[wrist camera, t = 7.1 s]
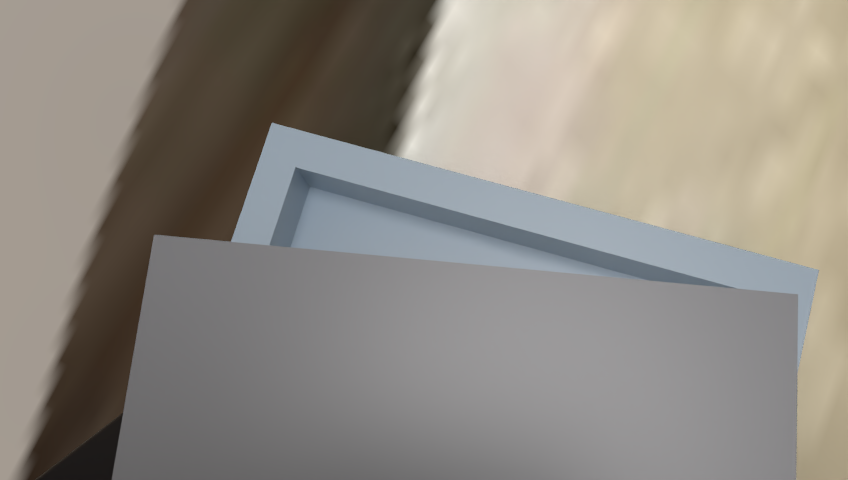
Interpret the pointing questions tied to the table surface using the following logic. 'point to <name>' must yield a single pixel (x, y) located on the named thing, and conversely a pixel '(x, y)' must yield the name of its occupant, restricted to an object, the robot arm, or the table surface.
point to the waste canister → (449, 372)
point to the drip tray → (476, 223)
